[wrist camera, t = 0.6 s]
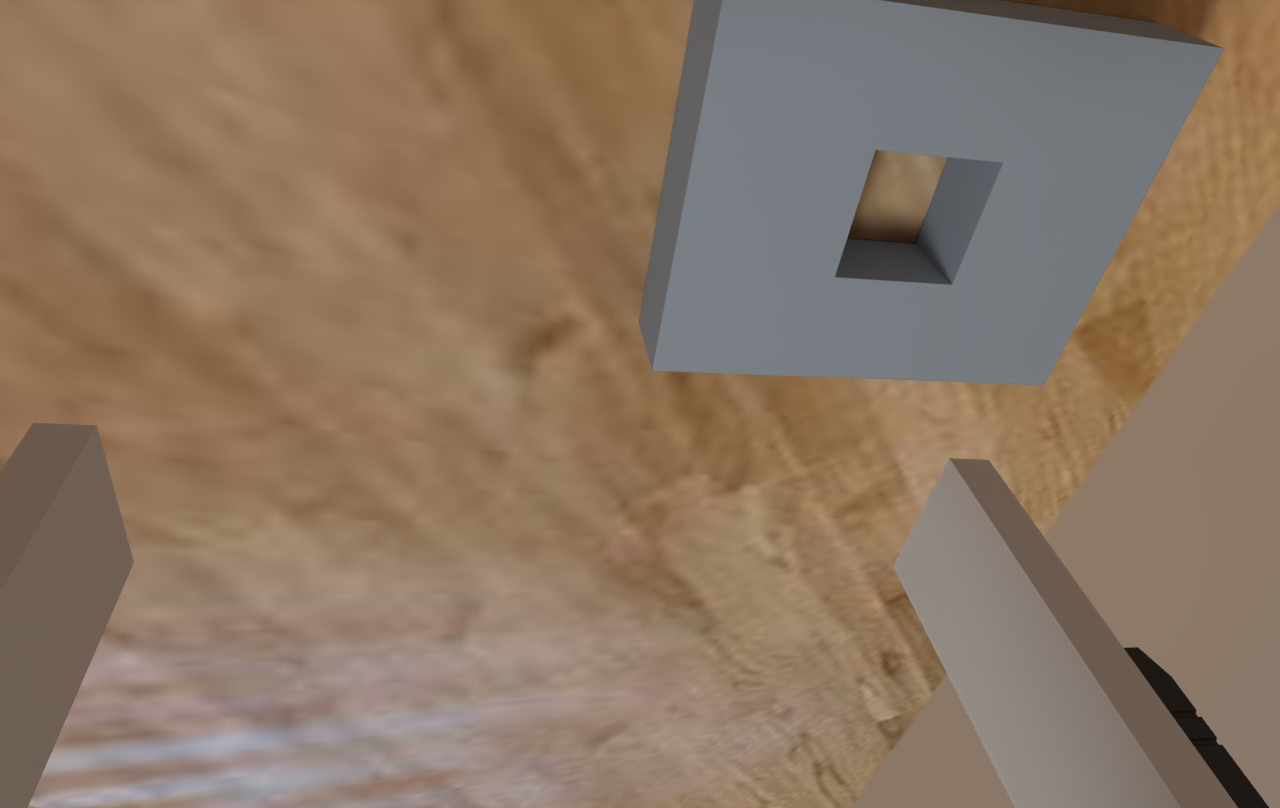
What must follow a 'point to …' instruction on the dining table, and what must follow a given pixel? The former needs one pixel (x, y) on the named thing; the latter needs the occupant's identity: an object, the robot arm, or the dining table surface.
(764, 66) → the seat board
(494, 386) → the dining table surface
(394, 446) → the dining table surface
